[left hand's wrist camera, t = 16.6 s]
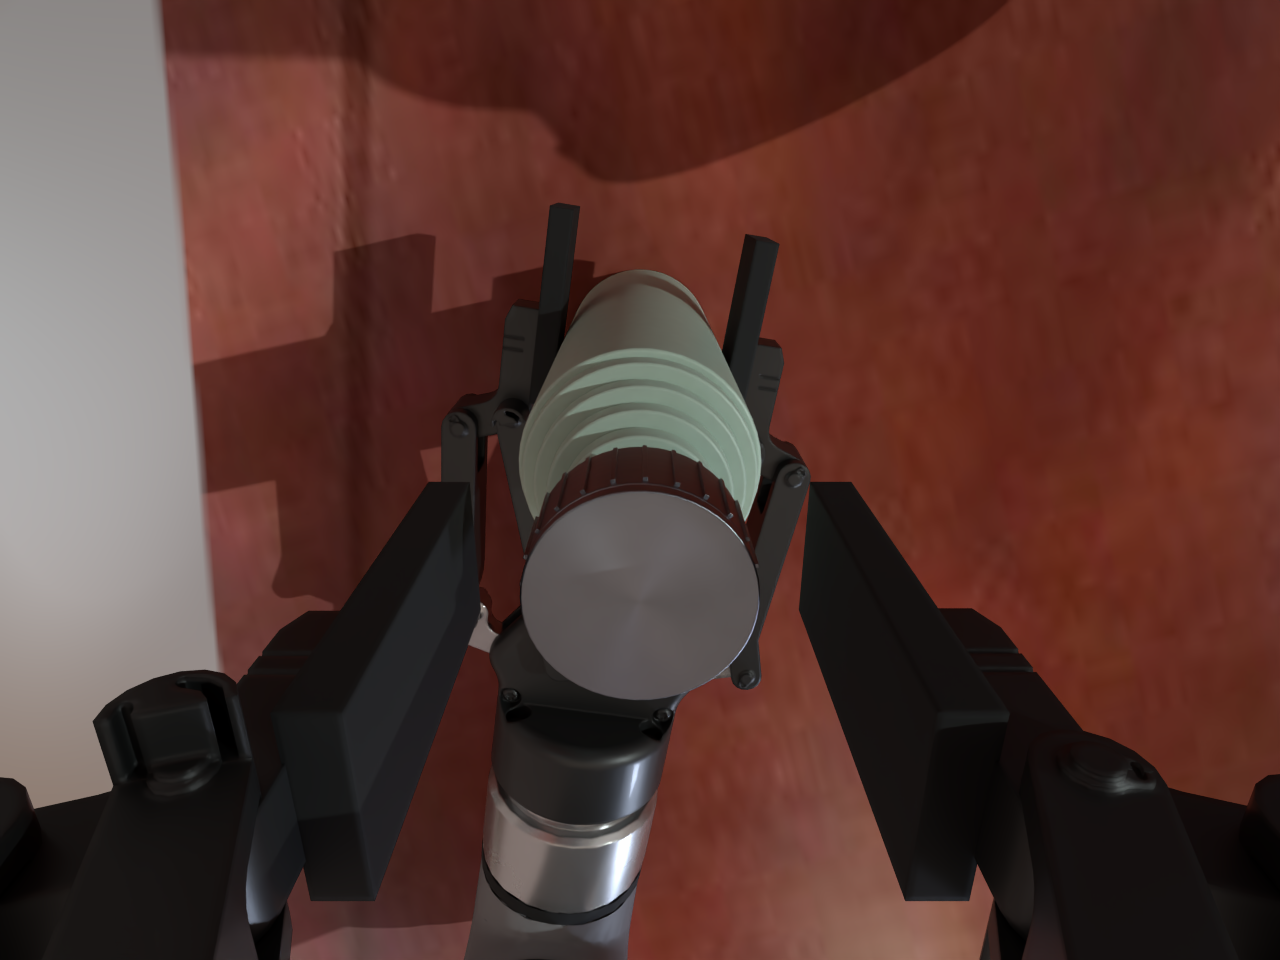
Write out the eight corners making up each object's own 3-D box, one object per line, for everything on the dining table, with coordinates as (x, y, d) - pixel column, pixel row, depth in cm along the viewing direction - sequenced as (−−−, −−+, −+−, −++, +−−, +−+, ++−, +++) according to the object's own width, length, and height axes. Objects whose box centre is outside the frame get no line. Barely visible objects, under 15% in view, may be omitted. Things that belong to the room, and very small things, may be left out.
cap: (721, 648, 16) (734, 717, 14) (521, 618, 15) (503, 685, 13) (768, 462, 14) (789, 510, 12) (548, 426, 14) (532, 469, 12)
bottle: (549, 368, 34) (418, 650, 14) (608, 243, 32) (556, 361, 12) (668, 426, 35) (707, 768, 15) (732, 309, 33) (878, 519, 13)
